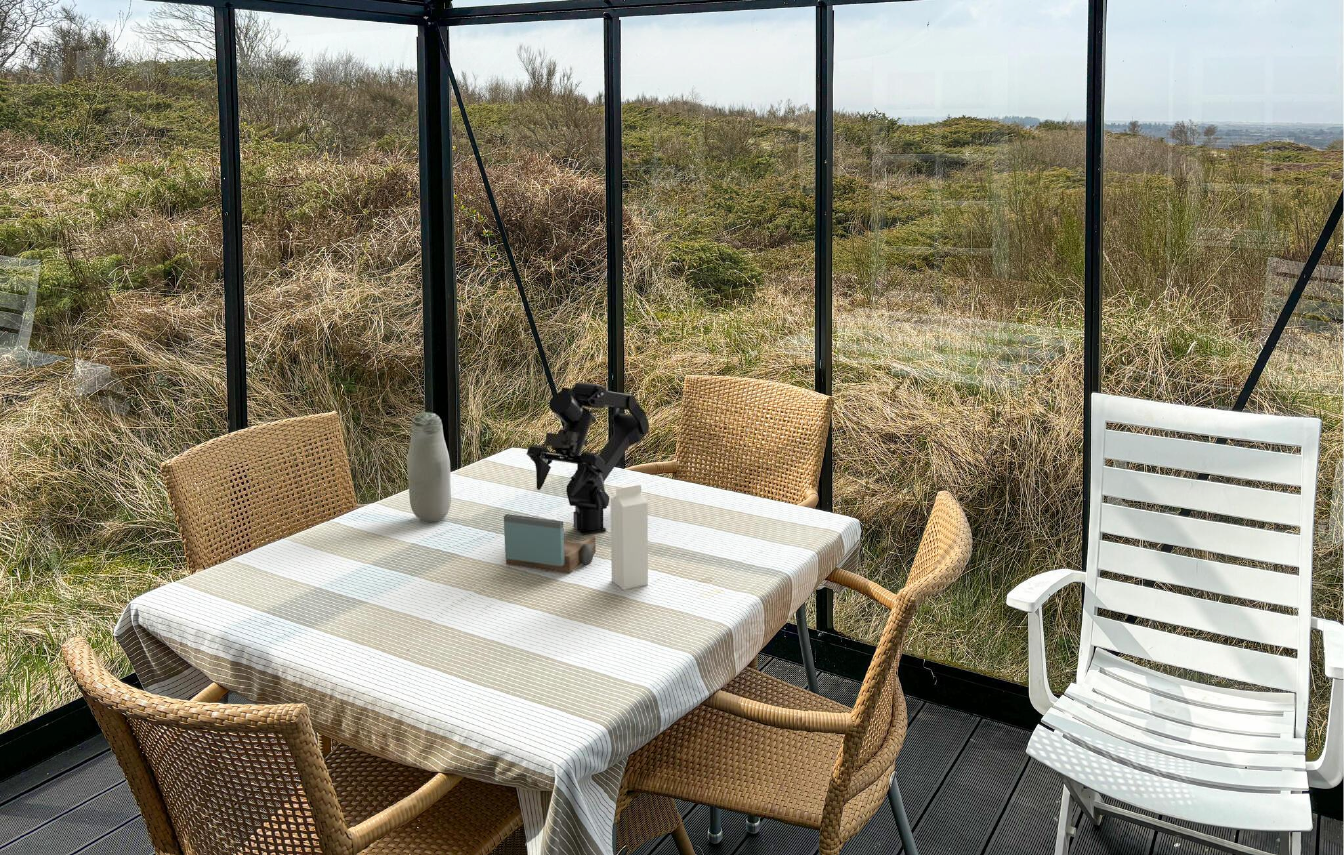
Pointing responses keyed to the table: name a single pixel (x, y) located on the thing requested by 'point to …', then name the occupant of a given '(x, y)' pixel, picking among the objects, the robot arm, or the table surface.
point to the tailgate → (534, 539)
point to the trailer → (565, 557)
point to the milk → (629, 538)
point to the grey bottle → (428, 469)
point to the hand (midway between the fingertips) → (554, 492)
